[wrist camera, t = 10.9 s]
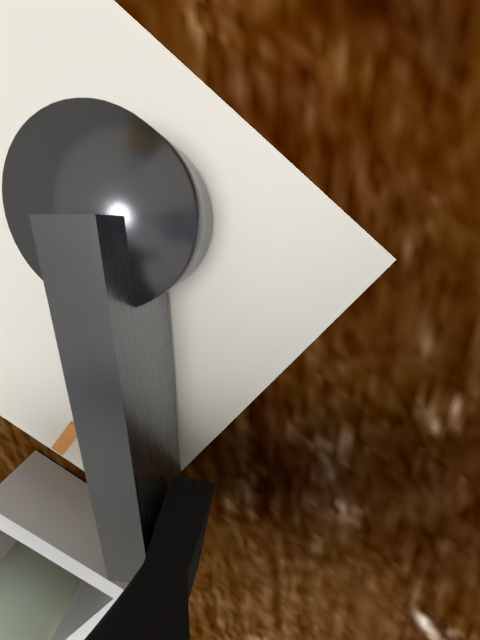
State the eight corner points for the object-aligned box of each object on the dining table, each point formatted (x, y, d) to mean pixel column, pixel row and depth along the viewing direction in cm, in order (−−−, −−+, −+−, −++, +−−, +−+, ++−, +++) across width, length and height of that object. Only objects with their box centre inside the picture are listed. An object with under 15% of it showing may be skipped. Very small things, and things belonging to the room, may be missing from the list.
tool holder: (35, 450, 13) (-20, 502, 10) (164, 534, 13) (141, 600, 11) (-20, 528, 15) (-75, 586, 12) (94, 596, 16) (62, 662, 13)
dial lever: (54, 133, 7) (-86, 74, 4) (210, 129, 7) (167, 61, 4) (115, 482, 11) (60, 574, 8) (219, 492, 10) (200, 592, 8)
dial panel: (37, -60, 7) (-4, -109, 6) (382, 255, 9) (398, 260, 7) (-100, 318, 11) (-138, 327, 10) (151, 488, 13) (141, 512, 12)
